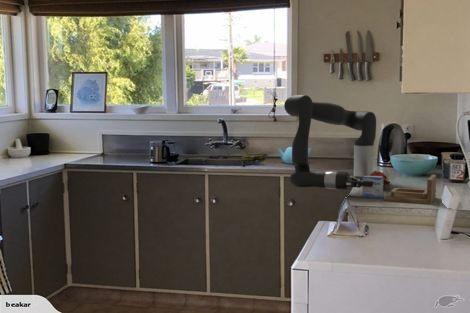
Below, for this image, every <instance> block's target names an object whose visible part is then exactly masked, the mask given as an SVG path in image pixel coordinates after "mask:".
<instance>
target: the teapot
mask: <svg viewBox="0 0 470 313" xmlns="http://www.w3.org/2000/svg"><path fill="white" fill-rule="evenodd" d="M277 151H278V154H279V157H280V159H281V160H282V161H283V163H284V164H285V165H286V164H288V165H294V164H293V162H292V146H289V147H287V148H286V149H285V151H284V152H283V151H282V149H281V147H279V148H277ZM311 151H312V148H309V147H308V157H309V155H310V153H311Z"/></svg>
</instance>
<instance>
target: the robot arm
mask: <svg viewBox="0 0 470 313" xmlns="http://www.w3.org/2000/svg"><path fill="white" fill-rule="evenodd" d="M283 106H284V110H285V112H286V114H288V115H289V116H291V117H298V126H297V130H296V134H295V135H294V138H293V141H292V144H291V147H292V162H293V164H292V165H294V171H293V172H292V173H291V174H290V176H289V181H290V184H291V185H292V186H294V187H297V188H323V189H329V190H330V189H331V190H342V191H343V190H344V191H347V190H348V189H349V188H357V189H360V188H363V187H372V186H373V182H372V181H364V182H363V177H364V176H369V175H370V174H371V173H372V172H373V171H375V170H374V168H375V167H374V165H375V164H374V160H375V156H374V155H375V152H374V151H375V140H376V135H377V134H376V133H377V117H376V115H375V113H374V112H372V111H361V110H358V111H357V110H355V111H354V110H347V109H345V108H344V107H343V106H342V105H339V104H336V103H332V102H325V101H313V100H312V98H311V97H310V96H309V95H307V94H297V95H296V94H295V95H291V96H289V97H287V99H286V100H285V101H284V105H283ZM312 120H314V121H317V122H320V123H321V122H322V123H326V124H329V125H333V126H335V125H336V126H344V127H347V128H350V129H353V130H355V131H359V132H360V131H361V134H360V136H359V137H357V138H355V139H354V141H353V176H350V173H349V172H348V171H335V170H334V171H333V170H331V171H321V170H320V171H310V164H309V156H308V149H309V138H310V131H311V124H312Z"/></svg>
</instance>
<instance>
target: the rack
mask: <svg viewBox="0 0 470 313" xmlns="http://www.w3.org/2000/svg"><path fill="white" fill-rule="evenodd" d="M436 192H437V174H431V175H430V176H429V178H428V179H427V181H426V189H421V188H419V189H418V188H405V187H393V189H392V190H390V192H388V193H387V194H386V195H385V196H383V201H384V202H391V203H392V202H395V203H406V204H407V203H408V204H409V203H410V204H419V205H420V204H421V205H423V204H424V205H431V204H433V202H434V201H435V199H437V198H436V196H437V194H436Z"/></svg>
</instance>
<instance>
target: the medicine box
mask: <svg viewBox="0 0 470 313" xmlns="http://www.w3.org/2000/svg"><path fill="white" fill-rule="evenodd" d="M364 181H372V182H373V186H372V187H362V197H363V198H366V197H367V199H368V198H369V199H370V198H371V199H382V198H384V188H383V176H364V177H363V182H364Z"/></svg>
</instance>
